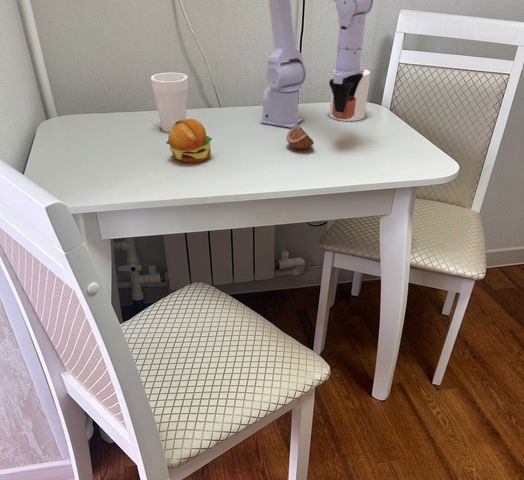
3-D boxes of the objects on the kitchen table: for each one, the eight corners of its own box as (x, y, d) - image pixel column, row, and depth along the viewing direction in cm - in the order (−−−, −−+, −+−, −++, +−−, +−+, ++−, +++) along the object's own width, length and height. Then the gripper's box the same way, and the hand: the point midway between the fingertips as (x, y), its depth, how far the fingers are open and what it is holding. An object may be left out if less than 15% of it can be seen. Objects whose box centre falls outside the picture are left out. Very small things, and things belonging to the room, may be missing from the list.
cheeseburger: (219, 151, 137) (215, 113, 129) (203, 176, 131) (197, 139, 123) (183, 145, 139) (176, 108, 131) (165, 169, 134) (157, 132, 126)
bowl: (328, 117, 137) (330, 99, 134) (335, 111, 141) (337, 93, 138) (350, 121, 135) (352, 102, 132) (356, 114, 139) (358, 96, 136)
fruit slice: (317, 153, 137) (319, 133, 134) (292, 155, 136) (293, 135, 133) (307, 141, 144) (308, 122, 140) (282, 143, 142) (283, 124, 139)
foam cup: (197, 127, 151) (194, 76, 142) (176, 136, 145) (172, 84, 136) (171, 120, 155) (166, 70, 146) (149, 129, 149) (143, 78, 140)
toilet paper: (322, 116, 160) (326, 71, 152) (341, 108, 166) (345, 64, 158) (352, 123, 155) (358, 77, 147) (370, 115, 162) (376, 70, 154)
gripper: (357, 55, 122) (350, 118, 130) (374, 43, 132) (366, 102, 141) (327, 52, 124) (322, 114, 133) (346, 40, 134) (340, 98, 143)
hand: (343, 108), depth 137 cm, fingers closed on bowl, 5 cm apart
